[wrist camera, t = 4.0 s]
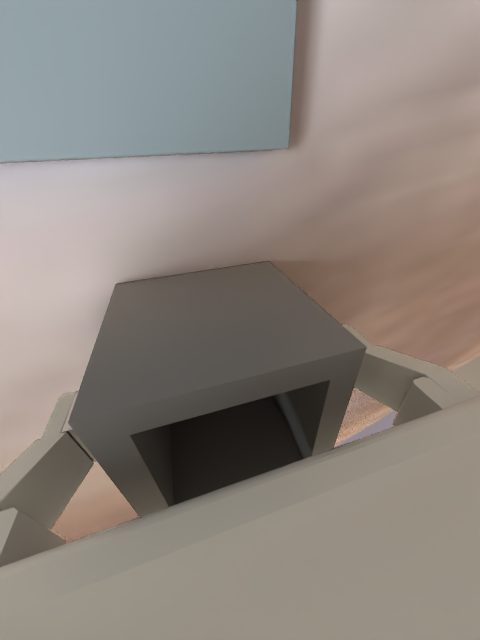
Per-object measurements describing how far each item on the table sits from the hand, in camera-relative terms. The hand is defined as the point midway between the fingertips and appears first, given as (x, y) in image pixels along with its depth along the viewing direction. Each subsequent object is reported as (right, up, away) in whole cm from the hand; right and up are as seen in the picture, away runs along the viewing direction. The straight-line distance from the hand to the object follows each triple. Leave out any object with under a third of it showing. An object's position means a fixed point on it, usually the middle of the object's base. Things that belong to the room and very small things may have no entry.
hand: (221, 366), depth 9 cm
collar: (-1, +1, +2) cm, 3 cm away
